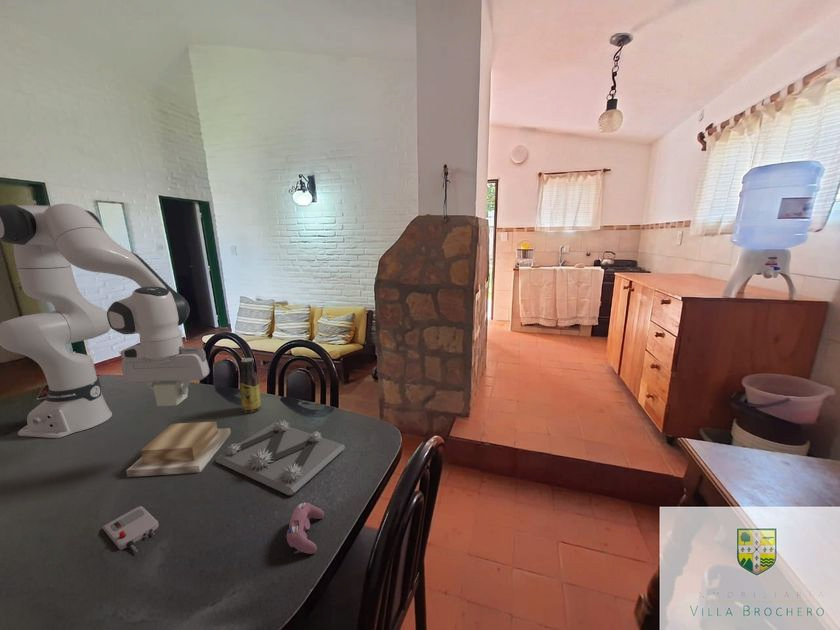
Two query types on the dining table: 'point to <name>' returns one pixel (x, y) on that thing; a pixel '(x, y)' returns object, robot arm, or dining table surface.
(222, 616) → the dining table surface
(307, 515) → the video game controller
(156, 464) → the stacking base
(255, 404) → the sauce bottle
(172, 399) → the sage block
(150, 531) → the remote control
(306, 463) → the decorative plate
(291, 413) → the dining table surface
